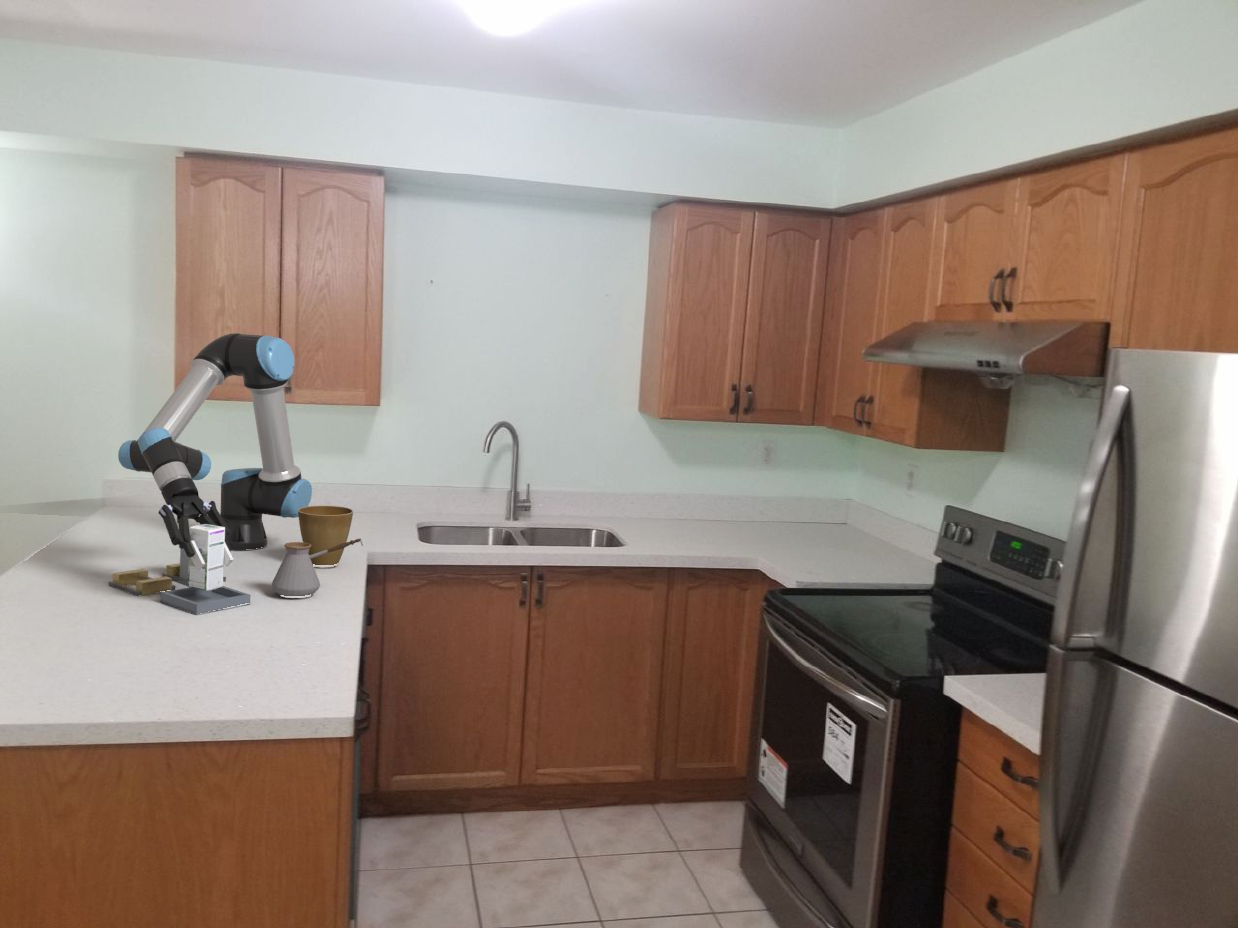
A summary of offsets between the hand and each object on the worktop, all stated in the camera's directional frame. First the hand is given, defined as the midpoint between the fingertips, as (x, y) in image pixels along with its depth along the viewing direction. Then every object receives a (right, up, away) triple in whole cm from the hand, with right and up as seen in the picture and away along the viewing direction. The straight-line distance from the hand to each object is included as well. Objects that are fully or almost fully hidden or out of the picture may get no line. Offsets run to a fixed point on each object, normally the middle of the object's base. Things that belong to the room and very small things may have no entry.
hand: (215, 564), depth 229 cm
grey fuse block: (-15, -6, +24) cm, 29 cm away
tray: (-4, -9, +3) cm, 11 cm away
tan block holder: (-23, -7, +12) cm, 27 cm away
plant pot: (+10, -6, +50) cm, 51 cm away
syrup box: (-4, -6, +3) cm, 7 cm away
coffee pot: (+18, -10, +18) cm, 27 cm away
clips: (-15, -6, +24) cm, 29 cm away
